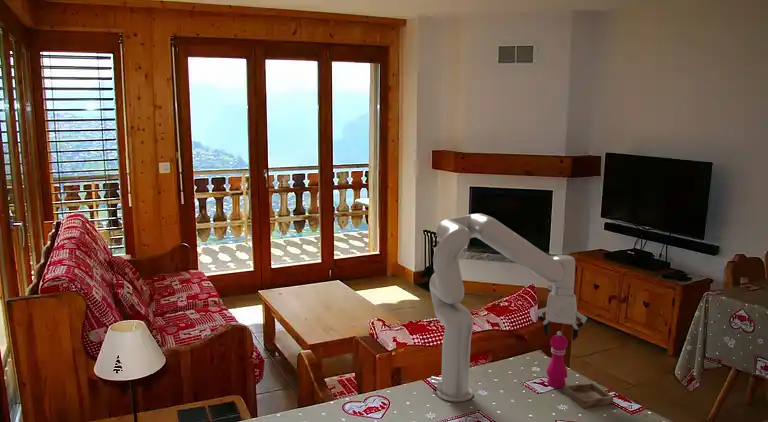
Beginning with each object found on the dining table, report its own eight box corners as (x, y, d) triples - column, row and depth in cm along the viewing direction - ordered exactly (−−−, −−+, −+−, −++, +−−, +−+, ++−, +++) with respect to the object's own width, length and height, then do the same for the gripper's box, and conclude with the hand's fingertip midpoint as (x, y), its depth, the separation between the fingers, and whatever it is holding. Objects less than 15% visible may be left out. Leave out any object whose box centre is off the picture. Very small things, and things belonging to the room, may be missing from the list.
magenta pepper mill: (568, 388, 213) (572, 335, 209) (548, 388, 213) (552, 334, 210) (563, 380, 220) (566, 328, 217) (543, 379, 220) (546, 327, 217)
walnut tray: (583, 408, 198) (583, 401, 198) (563, 393, 209) (563, 386, 209) (612, 404, 202) (613, 397, 201) (591, 389, 212) (592, 382, 212)
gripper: (535, 289, 212) (533, 335, 214) (586, 296, 204) (583, 344, 206) (540, 284, 218) (538, 329, 221) (590, 291, 210) (587, 337, 213)
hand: (560, 336), depth 214 cm, fingers open, 9 cm apart
